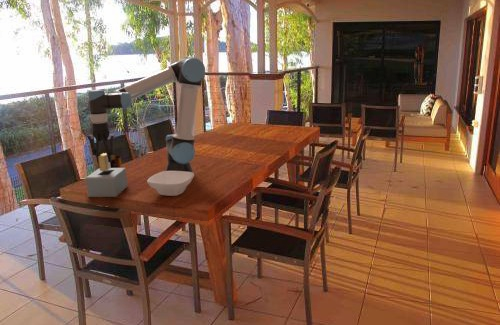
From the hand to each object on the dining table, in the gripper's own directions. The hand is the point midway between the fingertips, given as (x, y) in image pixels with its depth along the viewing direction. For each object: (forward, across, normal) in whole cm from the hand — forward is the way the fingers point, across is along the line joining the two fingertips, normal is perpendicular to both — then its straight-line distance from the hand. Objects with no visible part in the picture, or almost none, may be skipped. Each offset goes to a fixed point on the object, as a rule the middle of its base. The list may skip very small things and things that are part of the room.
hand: (105, 168), depth 220 cm
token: (0, 0, 0) cm, 0 cm away
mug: (+12, +4, -21) cm, 24 cm away
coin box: (+12, 0, 0) cm, 12 cm away
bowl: (+12, -34, +4) cm, 37 cm away
